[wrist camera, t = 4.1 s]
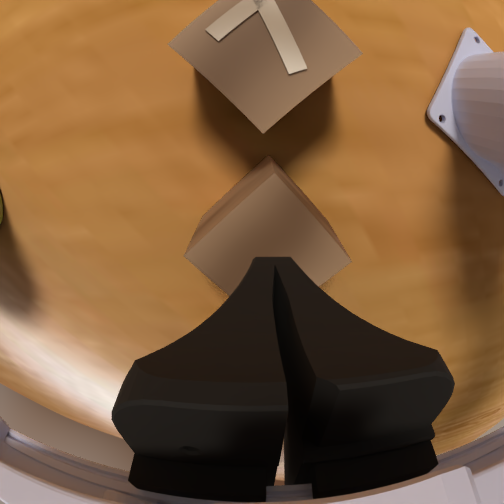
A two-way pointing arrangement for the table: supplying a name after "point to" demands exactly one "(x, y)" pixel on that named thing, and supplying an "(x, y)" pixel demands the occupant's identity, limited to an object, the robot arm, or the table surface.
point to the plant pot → (1, 209)
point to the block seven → (265, 53)
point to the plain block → (264, 230)
